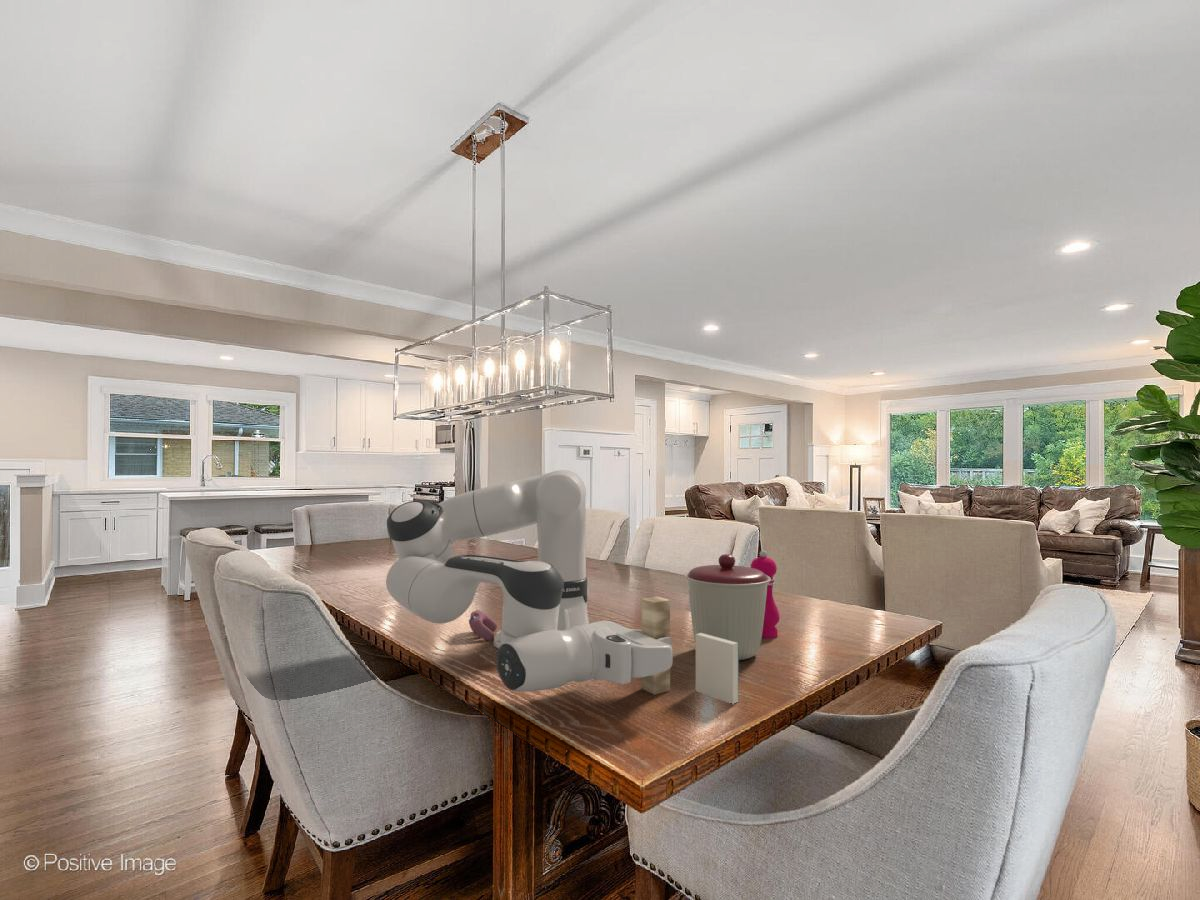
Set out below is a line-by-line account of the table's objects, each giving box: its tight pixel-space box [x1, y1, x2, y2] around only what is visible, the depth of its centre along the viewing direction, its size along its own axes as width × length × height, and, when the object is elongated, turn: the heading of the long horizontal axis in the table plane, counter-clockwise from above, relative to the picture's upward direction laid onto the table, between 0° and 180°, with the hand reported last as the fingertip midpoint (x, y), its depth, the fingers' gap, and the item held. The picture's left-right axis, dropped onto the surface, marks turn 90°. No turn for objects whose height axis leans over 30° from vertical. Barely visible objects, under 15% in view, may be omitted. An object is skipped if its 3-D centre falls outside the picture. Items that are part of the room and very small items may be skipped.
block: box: [641, 595, 671, 696], centre depth 106 cm, size 4×4×16 cm
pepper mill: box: [750, 550, 780, 639], centre depth 141 cm, size 7×7×20 cm
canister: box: [683, 554, 771, 661], centre depth 127 cm, size 18×18×21 cm
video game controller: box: [468, 609, 498, 641], centre depth 140 cm, size 10×5×7 cm, turn 5°
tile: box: [695, 633, 740, 705], centre depth 103 cm, size 2×8×10 cm, turn 41°
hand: (659, 637), depth 107 cm, fingers closed on block, 4 cm apart
